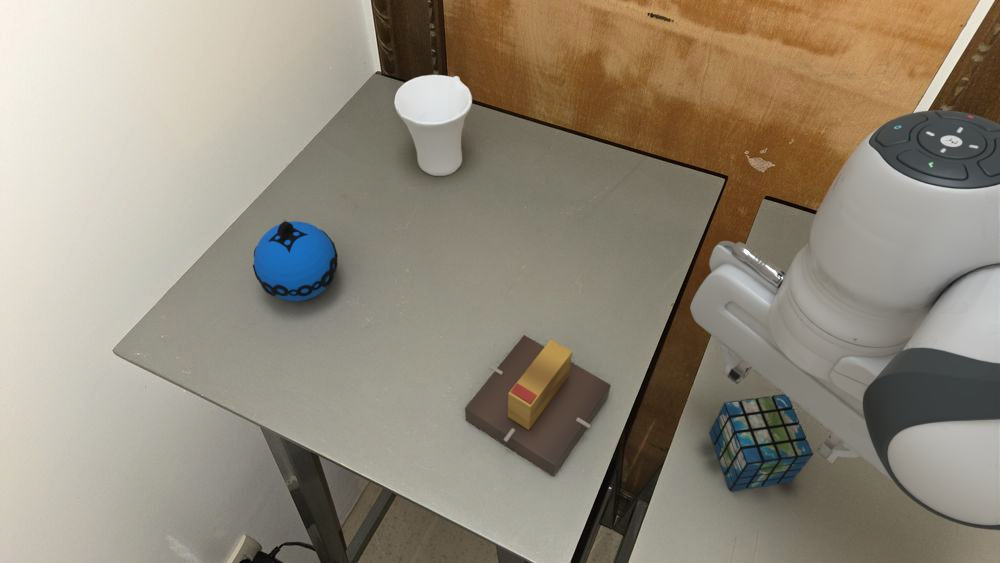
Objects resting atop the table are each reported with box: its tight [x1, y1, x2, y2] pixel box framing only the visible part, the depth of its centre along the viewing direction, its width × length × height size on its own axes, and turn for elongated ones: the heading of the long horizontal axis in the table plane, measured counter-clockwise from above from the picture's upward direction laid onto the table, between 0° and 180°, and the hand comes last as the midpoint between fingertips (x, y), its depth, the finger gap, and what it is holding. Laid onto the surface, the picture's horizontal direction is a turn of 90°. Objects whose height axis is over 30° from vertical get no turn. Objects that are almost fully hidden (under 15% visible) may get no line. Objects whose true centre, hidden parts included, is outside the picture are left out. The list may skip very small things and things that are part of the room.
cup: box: [393, 74, 473, 177], centre depth 90 cm, size 9×9×10 cm
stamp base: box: [464, 334, 612, 477], centre depth 72 cm, size 11×11×3 cm
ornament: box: [252, 220, 339, 302], centre depth 78 cm, size 9×9×10 cm
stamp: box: [508, 338, 573, 430], centre depth 69 cm, size 7×2×5 cm, turn 145°
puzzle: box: [709, 393, 814, 492], centre depth 68 cm, size 6×6×6 cm
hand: (780, 412), depth 62 cm, fingers open, 8 cm apart
